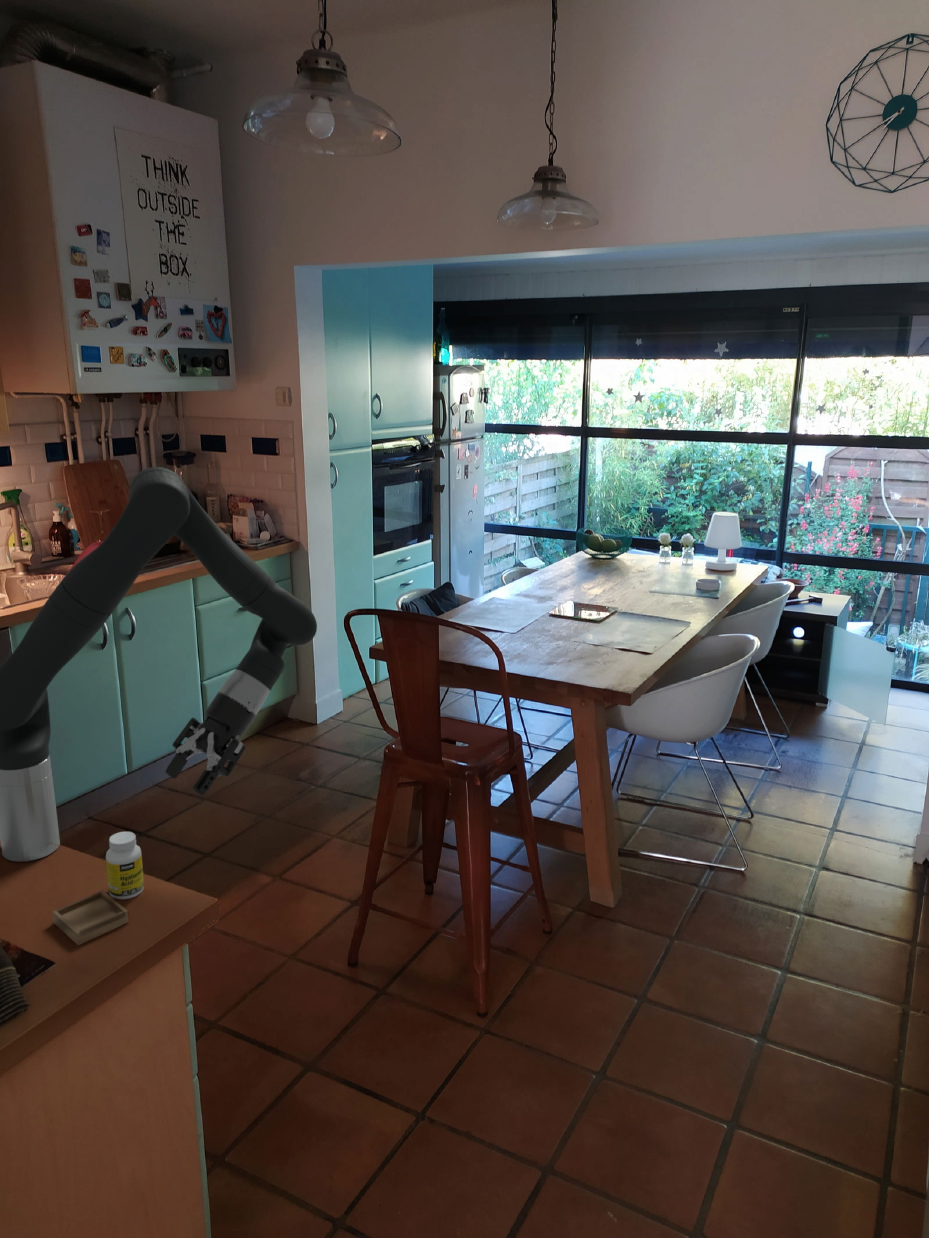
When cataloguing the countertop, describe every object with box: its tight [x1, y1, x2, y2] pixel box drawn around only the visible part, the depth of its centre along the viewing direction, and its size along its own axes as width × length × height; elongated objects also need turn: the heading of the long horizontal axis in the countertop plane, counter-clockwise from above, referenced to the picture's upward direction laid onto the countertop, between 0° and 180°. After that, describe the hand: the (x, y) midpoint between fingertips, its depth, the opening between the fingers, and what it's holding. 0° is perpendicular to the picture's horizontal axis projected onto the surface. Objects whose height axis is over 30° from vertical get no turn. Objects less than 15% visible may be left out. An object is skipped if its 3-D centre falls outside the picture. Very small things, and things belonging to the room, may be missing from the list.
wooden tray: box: [52, 890, 130, 946], centre depth 140 cm, size 8×8×2 cm
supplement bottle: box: [105, 831, 145, 900], centre depth 147 cm, size 5×5×10 cm
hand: (183, 784), depth 152 cm, fingers open, 8 cm apart
